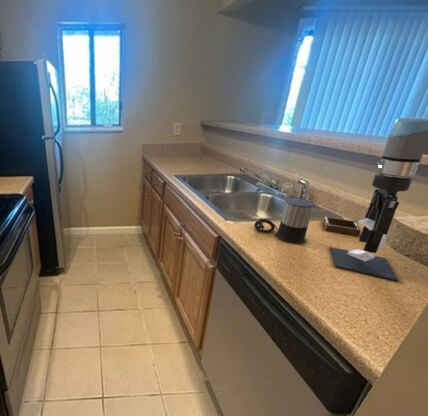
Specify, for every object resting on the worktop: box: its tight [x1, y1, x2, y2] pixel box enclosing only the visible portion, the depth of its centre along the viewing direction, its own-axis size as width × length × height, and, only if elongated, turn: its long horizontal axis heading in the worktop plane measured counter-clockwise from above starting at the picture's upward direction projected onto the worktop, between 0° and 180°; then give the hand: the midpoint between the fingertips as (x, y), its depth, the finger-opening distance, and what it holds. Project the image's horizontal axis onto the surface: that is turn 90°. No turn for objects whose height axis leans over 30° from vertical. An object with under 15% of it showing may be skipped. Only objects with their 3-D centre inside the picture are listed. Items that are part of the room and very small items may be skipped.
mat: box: [330, 246, 399, 282], centre depth 88 cm, size 14×14×1 cm
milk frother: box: [254, 197, 316, 244], centre depth 105 cm, size 14×16×15 cm
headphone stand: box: [347, 218, 387, 261], centre depth 85 cm, size 5×6×12 cm
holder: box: [323, 216, 362, 237], centre depth 111 cm, size 10×10×2 cm
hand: (367, 246), depth 86 cm, fingers closed on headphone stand, 6 cm apart
